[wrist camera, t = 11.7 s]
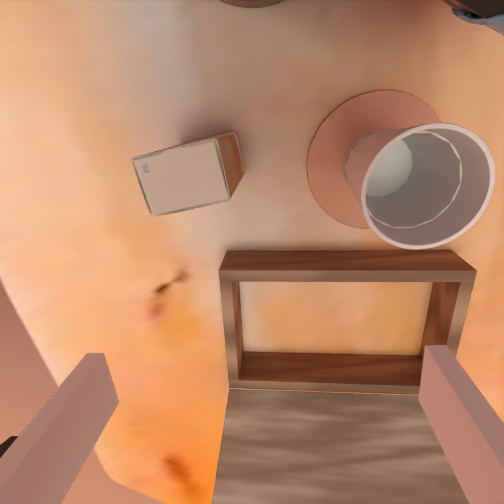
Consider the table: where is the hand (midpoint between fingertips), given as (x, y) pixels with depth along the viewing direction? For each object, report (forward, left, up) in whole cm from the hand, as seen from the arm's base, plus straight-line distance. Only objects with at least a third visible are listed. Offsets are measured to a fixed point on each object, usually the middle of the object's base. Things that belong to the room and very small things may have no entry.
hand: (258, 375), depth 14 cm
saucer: (-5, +10, -24) cm, 26 cm away
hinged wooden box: (+14, +7, -24) cm, 28 cm away
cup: (-5, +10, -23) cm, 26 cm away
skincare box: (-6, -6, -24) cm, 25 cm away
